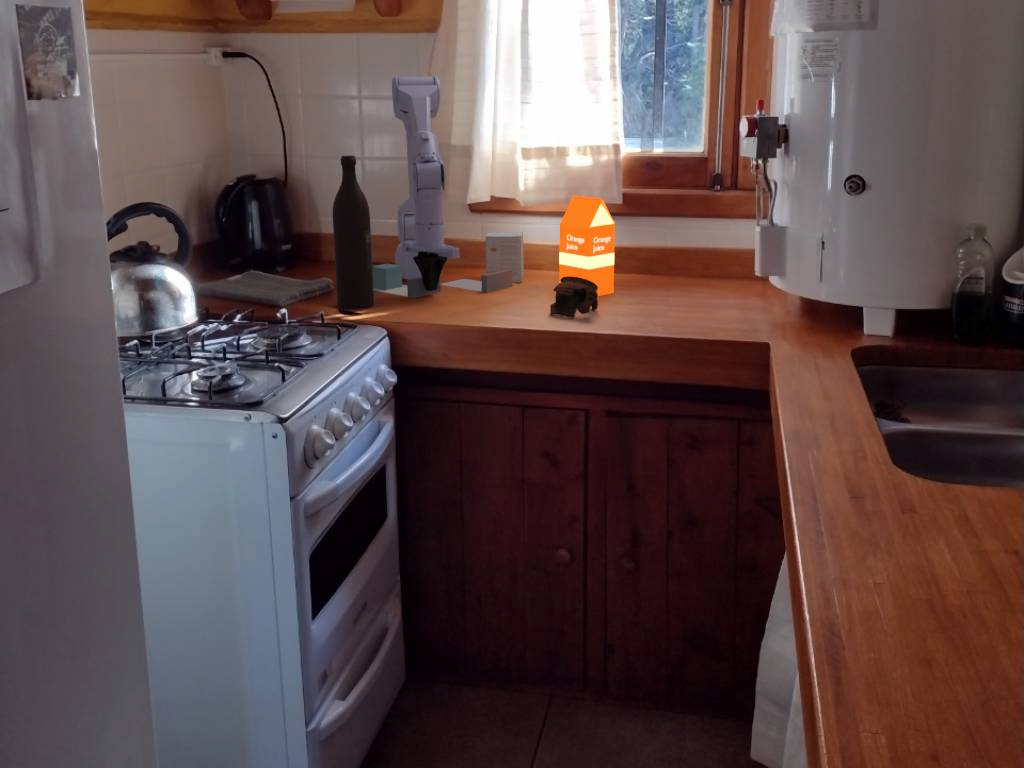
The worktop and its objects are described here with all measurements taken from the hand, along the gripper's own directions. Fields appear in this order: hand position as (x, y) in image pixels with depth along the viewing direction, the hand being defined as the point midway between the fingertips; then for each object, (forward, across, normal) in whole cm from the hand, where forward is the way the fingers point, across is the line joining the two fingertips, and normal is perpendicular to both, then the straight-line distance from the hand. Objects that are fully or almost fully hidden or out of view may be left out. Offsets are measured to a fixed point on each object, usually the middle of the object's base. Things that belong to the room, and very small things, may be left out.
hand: (431, 289), depth 216 cm
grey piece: (+2, -10, 0) cm, 11 cm away
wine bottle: (+3, -5, -16) cm, 17 cm away
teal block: (+1, -13, 0) cm, 13 cm away
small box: (+3, -3, +26) cm, 26 cm away
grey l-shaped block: (+2, 0, +13) cm, 13 cm away
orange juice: (+3, +19, +27) cm, 33 cm away
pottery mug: (+3, +30, +10) cm, 32 cm away
